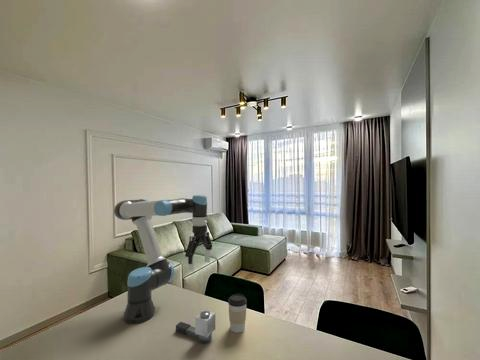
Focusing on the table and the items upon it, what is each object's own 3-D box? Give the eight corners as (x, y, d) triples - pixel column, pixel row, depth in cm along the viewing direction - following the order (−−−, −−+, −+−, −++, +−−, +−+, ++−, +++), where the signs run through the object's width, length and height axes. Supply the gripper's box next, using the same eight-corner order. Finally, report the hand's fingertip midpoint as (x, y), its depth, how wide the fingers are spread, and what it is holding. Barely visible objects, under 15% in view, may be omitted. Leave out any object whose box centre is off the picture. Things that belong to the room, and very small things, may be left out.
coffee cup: (245, 335, 103) (244, 302, 103) (225, 333, 105) (225, 300, 105) (248, 323, 112) (248, 293, 112) (230, 321, 114) (230, 291, 114)
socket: (195, 333, 99) (195, 315, 99) (203, 325, 105) (203, 308, 105) (207, 337, 96) (207, 319, 96) (215, 329, 102) (215, 311, 102)
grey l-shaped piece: (214, 337, 102) (214, 318, 102) (206, 345, 96) (206, 325, 97) (182, 326, 110) (182, 308, 110) (173, 333, 105) (173, 314, 105)
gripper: (190, 229, 105) (189, 275, 105) (218, 222, 128) (218, 259, 127) (177, 228, 109) (177, 272, 108) (207, 221, 131) (207, 258, 130)
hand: (199, 265), depth 117 cm, fingers open, 13 cm apart
